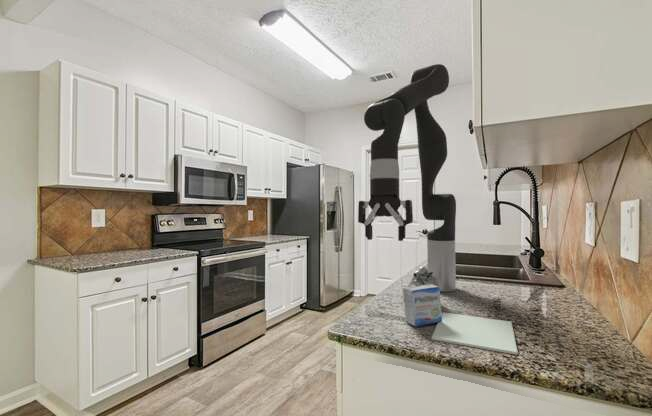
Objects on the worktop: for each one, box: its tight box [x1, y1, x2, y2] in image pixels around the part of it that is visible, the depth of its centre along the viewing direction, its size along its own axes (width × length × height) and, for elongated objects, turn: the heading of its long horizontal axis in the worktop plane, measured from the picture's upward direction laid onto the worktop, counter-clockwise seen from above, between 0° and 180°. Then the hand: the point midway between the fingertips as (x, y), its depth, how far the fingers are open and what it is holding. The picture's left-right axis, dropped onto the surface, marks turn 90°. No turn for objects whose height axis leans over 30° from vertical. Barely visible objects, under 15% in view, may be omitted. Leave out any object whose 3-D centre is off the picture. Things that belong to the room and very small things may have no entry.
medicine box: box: [402, 284, 442, 327], centre depth 78 cm, size 8×4×9 cm, turn 106°
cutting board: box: [431, 311, 519, 356], centre depth 72 cm, size 18×16×1 cm
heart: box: [406, 266, 439, 288], centre depth 93 cm, size 10×10×12 cm
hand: (384, 240), depth 82 cm, fingers open, 8 cm apart
